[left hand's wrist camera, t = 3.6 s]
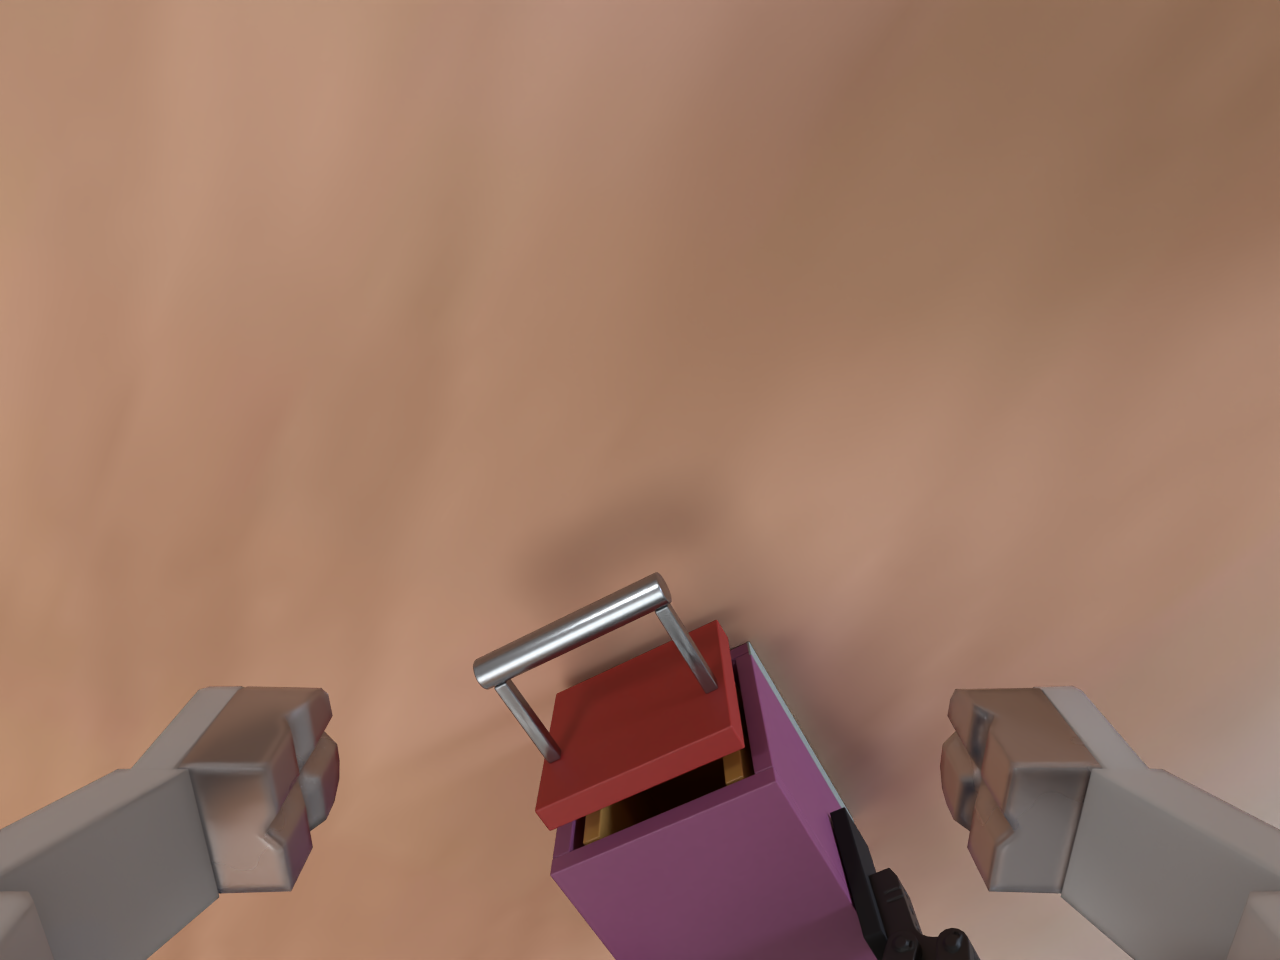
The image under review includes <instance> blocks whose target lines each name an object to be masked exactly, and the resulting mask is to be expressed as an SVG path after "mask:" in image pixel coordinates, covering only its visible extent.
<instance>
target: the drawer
mask: <svg viewBox="0 0 1280 960" xmlns="http://www.w3.org/2000/svg"><path fill="white" fill-rule="evenodd" d="M671 602H672V599H671V594H670V591H669V589H668V586H667V584H666V582H665V581H664V579H663V578H662V576H661V575H660V574H659V573H658V572H656V573H653V574H651V575H649V576H647V577H645V578H643V579H641V580H639V581H637V582H635V583H633V584H631V585H629V586H627V587H625V588H622V589H620V590H618V591H616V592H614V593H612V594H610V595H608V596H606V597H604V598H602V599H600V600H598V601H596V602H594V603H591V604H589V605H587V606H585V607H583V608H581V609H579V610H577V611H575V612H573V613H571V614H569V615H567V616H565V617H563V618H560V619H558V620H556V621H554V622H552V623H550V624H548V625H546V626H544V627H542V628H540V629H538V630H536V631H534V632H532V633H530V634H527V635H525V636H523V637H521V638H519V639H517V640H515V641H513V642H511V643H509V644H507V645H505V646H503V647H501V648H499V649H496V650H494V651H492V652H490V653H488V654H486V655H484V656H482V657H480V658H478V659H476V660H475V661H474V664H473V670H474V674H475V677H476V679H477V681H478V683H479V684H480V685H481V686H482V687H483V688H484V689H490V688H493V687H495V690H496V692H497V693H498V694H499V696H500V697H501V699H502V700H503V701H504V703H505V704H506V705H507V707H508V708H509V709H510V711H511V712H512V714H513V715H514V716H515V718H516V719H517V720H518V722H519V723H520V725H521V726H522V727H523V729H524V730H525V731H526V733H527V734H528V736H529V737H530V738H531V740H532V741H533V742H534V744H535V745H536V746H537V748H538V749H539V751H540V752H541V753H542V755H543V756H544V757H545V760H544V765H543V770H542V776H541V781H540V787H539V792H538V798H537V803H536V809H535V812H536V813H537V815H538V816H539V817H540V819H541V820H542V821H543V823H544V824H545V825H546V827H547V828H548V829H549V830H550V831H551V830H553V829H556V828H558V827H560V826H563V825H565V824H567V823H570V822H572V821H574V820H577V819H579V818H581V817H584V816H586V820H585V830H584V839H583V844H584V845H588V844H590V843H592V842H595V841H597V840H600V839H602V838H604V837H607V836H609V835H611V834H614V833H616V832H619V831H621V830H623V829H626V828H628V827H631V826H633V825H635V824H638V823H640V822H642V821H645V820H647V819H650V818H652V817H654V816H657V815H659V814H661V813H664V812H666V811H669V810H671V809H673V808H676V807H678V806H681V805H683V804H685V803H688V802H690V801H692V800H695V799H697V798H700V797H702V796H704V795H707V794H709V793H711V792H714V791H716V790H719V789H721V788H723V787H726V786H728V785H731V784H733V783H735V782H738V781H740V780H742V779H745V778H747V777H750V776H752V775H754V774H755V773H754V767H753V761H752V755H751V749H750V743H749V737H748V731H747V725H746V719H745V713H744V707H743V701H742V695H741V691H740V689H739V688H738V686H737V684H736V683H735V681H734V675H733V668H732V662H731V655H730V649H729V643H728V637H727V636H726V634H725V632H724V631H723V629H722V627H721V626H720V624H719V622H718V621H717V620H715V621H713V622H710V623H708V624H706V625H704V626H702V627H700V628H698V629H695V630H693V631H691V632H689V633H688V632H687V630H686V628H685V627H684V625H683V624H682V622H681V620H680V619H679V617H678V615H677V614H676V612H675V610H674V609H673V607H672V606H671V604H670V603H671ZM653 611H655V613H656V615H657V616H658V618H659V620H660V621H661V623H662V624H663V626H664V628H665V629H666V631H667V632H668V634H669V636H670V637H671V639H672V641H670V642H667V643H665V644H663V645H661V646H659V647H657V648H654V649H652V650H650V651H648V652H646V653H644V654H642V655H639V656H637V657H635V658H633V659H631V660H629V661H626V662H624V663H622V664H620V665H618V666H616V667H614V668H611V669H609V670H607V671H605V672H603V673H601V674H598V675H596V676H594V677H592V678H590V679H588V680H586V681H583V682H581V683H579V684H577V685H575V686H573V687H570V688H568V689H566V690H564V691H562V692H560V693H557V695H556V700H555V705H554V710H553V716H552V721H551V727H550V732H548V731H547V729H546V728H545V726H544V725H543V724H542V722H541V721H540V719H539V718H538V717H537V715H536V714H535V713H534V711H533V710H532V708H531V707H530V706H529V704H528V703H527V701H526V700H525V699H524V697H523V696H522V694H521V693H520V692H519V690H518V689H517V687H516V686H515V685H514V683H513V682H512V680H511V679H512V678H514V677H516V676H518V675H520V674H522V673H524V672H526V671H528V670H531V669H533V668H535V667H537V666H539V665H541V664H543V663H545V662H547V661H550V660H552V659H554V658H556V657H558V656H560V655H562V654H564V653H566V652H569V651H571V650H573V649H575V648H577V647H579V646H581V645H583V644H585V643H588V642H590V641H592V640H594V639H596V638H598V637H600V636H602V635H604V634H607V633H609V632H611V631H613V630H615V629H617V628H619V627H621V626H623V625H626V624H628V623H630V622H632V621H634V620H636V619H638V618H640V617H642V616H644V615H647V614H649V613H651V612H653Z"/></svg>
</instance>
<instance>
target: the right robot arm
mask: <svg viewBox="0 0 1280 960" xmlns="http://www.w3.org/2000/svg"><path fill="white" fill-rule="evenodd" d="M830 816H831V820H832V823H833V827H834V831H835V834H836V838H837V842H838V845H839V849H840V853H841V856H842V860H843V864H844V867H845V871H846V875H847V878H848V882H849V886H850V889H851V893H852V897H853V900H854V904H855V908H856V911H857V915H858V919H859V922H860V926H861V930H862V933H863V937H864V939H865V941H866V942H867V944H868V946H869V947H870V949H871V950H872V952H873V954H874V955H875V957H876V958H877V960H980V958H979V957H978V955H977V953H976V951H975V949H974V948H973V946H972V944H971V942H970V940H969V939H968V937H967V936H966V934H965V933H964V932H963V931H961V930H959V929H956V928H950V929H946V930H944V931H943V932H941V933H940V935H939V936H938V937H927V936H925V935H923V934H922V931H921V929H920V926H919V923H918V920H917V918H916V914H915V911H914V909H913V906H912V903H911V900H910V897H909V896H908V894H907V892H906V891H905V889H904V887H903V885H902V884H901V882H900V880H899V878H898V877H897V875H896V874H895V873H894V872H893V871H892V870H891V869H890V868H887V869H885V870H882V871H880V872H877V873H876V871H875V867H874V864H873V861H872V858H871V855H870V852H869V848H868V846H867V844H866V842H865V841H864V839H863V837H862V836H861V834H860V832H859V830H858V829H857V827H856V825H855V824H854V822H853V820H852V819H851V817H850V815H849V813H848V812H847V810H846V808H845V807H843V808H841V809H838V810H836V811H833V812H831V813H830Z"/></svg>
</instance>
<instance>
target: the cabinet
mask: <svg viewBox="0 0 1280 960" xmlns="http://www.w3.org/2000/svg"><path fill="white" fill-rule="evenodd" d="M730 655H731V662H732V668H733V675H734V681H735V683H736V684H737V686H738V688H739V689H740V691H741V695H742V701H743V707H744V713H745V719H746V725H747V731H748V737H749V743H750V749H751V755H752V761H753V767H754V773H755V774H754V775H752V776H750V777H747V778H745V779H742V780H740V781H738V782H735V783H733V784H731V785H728V786H726V787H723V788H721V789H719V790H716V791H714V792H711V793H709V794H707V795H704V796H702V797H700V798H697V799H695V800H692V801H690V802H688V803H685V804H683V805H681V806H678V807H676V808H673V809H671V810H669V811H666V812H664V813H661V814H659V815H657V816H654V817H652V818H650V819H647V820H645V821H642V822H640V823H638V824H635V825H633V826H631V827H628V828H626V829H623V830H621V831H619V832H616V833H614V834H611V835H609V836H607V837H604V838H602V839H600V840H597V841H595V842H592V843H590V844H588V845H584V844H583V839H584V830H585V820H586V816H584V817H581V818H579V819H577V820H574V821H572V822H570V823H567V824H565V825H563V826H560V827H558V828H557V833H556V840H555V847H554V853H553V860H552V866H551V873H550V875H551V877H552V878H553V879H554V881H555V882H556V883H557V884H558V886H559V887H560V888H561V890H562V891H563V892H564V894H565V895H566V896H567V897H568V899H569V900H570V901H571V903H572V904H573V905H574V906H575V908H576V909H577V910H578V912H579V913H580V914H581V915H582V917H583V918H584V919H585V921H586V922H587V923H588V924H589V926H590V927H591V928H592V930H593V931H594V932H595V933H596V935H597V936H598V937H599V939H600V940H601V941H602V942H603V944H604V945H605V946H606V948H607V949H608V950H609V951H610V953H611V954H612V955H613V957H614V958H615V959H616V960H877V958H876V957H875V955H874V954H873V952H872V950H871V949H870V947H869V946H868V944H867V942H866V941H865V939H864V937H863V933H862V930H861V926H860V922H859V919H858V915H857V911H856V908H855V904H854V900H853V897H852V893H851V889H850V886H849V882H848V878H847V875H846V871H845V867H844V864H843V860H842V856H841V853H840V849H839V845H838V842H837V838H836V834H835V831H834V827H833V823H832V820H831V816H830V813H831V812H833V811H836V810H838V809H841V808H843V807H845V805H844V803H843V801H842V800H841V798H840V796H839V795H838V793H837V791H836V790H835V788H834V786H833V784H832V783H831V781H830V779H829V778H828V776H827V774H826V772H825V771H824V769H823V767H822V766H821V764H820V762H819V760H818V759H817V757H816V755H815V754H814V752H813V750H812V748H811V747H810V745H809V743H808V742H807V740H806V738H805V737H804V735H803V733H802V731H801V730H800V728H799V726H798V725H797V723H796V721H795V719H794V718H793V716H792V714H791V713H790V711H789V709H788V707H787V706H786V704H785V702H784V701H783V699H782V697H781V695H780V694H779V692H778V690H777V689H776V687H775V685H774V684H773V682H772V680H771V678H770V677H769V675H768V673H767V672H766V670H765V668H764V666H763V665H762V663H761V661H760V660H759V658H758V656H757V654H756V653H755V651H754V649H753V648H752V646H751V644H750V642H749V641H748V642H747V643H745V644H743V645H741V646H739V647H737V648H734V649H732V650H730ZM845 808H846V807H845ZM846 810H847V808H846ZM847 812H848V810H847ZM848 813H849V812H848ZM849 815H850V813H849ZM850 817H851V815H850ZM851 819H852V817H851ZM852 820H853V819H852ZM853 822H854V821H853Z"/></svg>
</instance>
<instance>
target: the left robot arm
mask: <svg viewBox="0 0 1280 960" xmlns="http://www.w3.org/2000/svg"><path fill="white" fill-rule="evenodd" d="M331 718H332V711H331V706H330V701H329V696H328V694H327V693H326V692H325V691H324V690H323V689H322V688H294V687H242V686H209V687H206V688H203V689H200V690H198V691H197V692H196V694H195V695H194V696H193V697H192V698H191V699H190V700H189V702H188V703H187V704H186V705H185V706H184V707H183V709H182V710H181V711H180V712H179V713H178V714H177V716H176V717H175V718H174V719H173V720H172V721H171V723H170V724H169V725H168V726H167V727H166V728H165V730H164V731H163V732H162V733H161V734H160V735H159V737H158V738H157V739H156V740H155V741H154V742H153V744H152V745H151V746H150V747H149V748H148V749H147V751H146V752H145V753H144V754H143V755H142V756H141V757H140V759H139V760H138V761H137V762H136V763H135V764H134V766H133V767H132V768H131V769H117V770H115V771H113V772H111V773H109V774H107V775H105V776H103V777H102V778H100V779H98V780H96V781H94V782H92V783H90V784H88V785H86V786H84V787H82V788H80V789H78V790H76V791H74V792H72V793H71V794H69V795H67V796H65V797H63V798H61V799H59V800H57V801H55V802H53V803H51V804H49V805H47V806H45V807H43V808H41V809H39V810H38V811H36V812H34V813H32V814H30V815H28V816H26V817H24V818H22V819H20V820H18V821H16V822H14V823H12V824H10V825H8V826H6V827H5V828H3V829H1V830H0V960H146V959H147V958H149V957H150V956H151V955H152V954H153V953H154V952H156V951H157V950H158V949H159V948H160V947H161V946H163V945H164V944H165V943H166V942H167V941H168V940H170V939H171V938H172V937H173V936H174V935H175V934H177V933H178V932H179V931H180V930H181V929H182V928H184V927H185V926H186V925H187V924H188V923H190V922H191V921H192V920H193V919H194V918H195V917H197V916H198V915H199V914H200V913H201V912H202V911H204V910H205V909H206V908H207V907H208V906H209V905H211V904H212V903H213V902H214V901H215V900H216V899H218V898H219V894H218V893H247V892H281V891H292V888H293V886H294V884H295V882H296V880H297V878H298V876H299V874H300V872H301V870H302V868H303V866H304V864H305V862H306V860H307V858H308V856H309V854H310V852H311V850H312V848H313V846H312V840H311V835H310V831H311V830H312V829H314V828H315V827H317V826H318V825H319V824H321V823H322V822H323V821H325V820H326V819H327V817H328V814H329V812H330V810H331V808H332V806H333V803H334V801H335V796H336V791H337V787H338V782H339V754H338V747H337V744H336V743H335V742H334V741H333V740H332V739H331V738H330V737H329V736H328V735H327V734H326V733H325V732H324V730H325V728H326V727H327V725H328V723H329V721H330V719H331ZM948 718H949V719H950V721H951V723H952V725H953V727H954V728H955V730H956V732H955V733H954V734H953V735H952V736H951V737H950V738H949V739H948V740H947V741H946V742H945V743H944V744H943V747H942V755H941V763H940V770H941V781H942V789H943V793H944V796H945V800H946V803H947V806H948V808H949V810H950V812H951V814H952V817H953V819H954V820H955V821H957V822H958V823H959V824H961V825H962V826H963V827H965V828H966V829H968V830H969V831H970V835H969V840H968V846H967V848H968V850H969V852H970V854H971V856H972V858H973V860H974V862H975V864H976V866H977V868H978V870H979V872H980V874H981V876H982V878H983V880H984V882H985V884H986V886H987V888H988V890H989V891H997V892H1032V893H1061V897H1062V898H1063V899H1064V900H1065V901H1066V902H1067V903H1069V904H1070V905H1071V906H1072V907H1073V908H1074V909H1076V910H1077V911H1078V912H1079V913H1080V914H1081V915H1083V916H1084V917H1085V918H1086V919H1087V920H1088V921H1090V922H1091V923H1092V924H1093V925H1094V926H1095V927H1097V928H1098V929H1099V930H1100V931H1101V932H1102V933H1104V934H1105V935H1106V936H1107V937H1108V938H1110V939H1111V940H1112V941H1113V942H1114V943H1115V944H1117V945H1118V946H1119V947H1120V948H1121V949H1122V950H1124V951H1125V952H1126V953H1127V954H1128V955H1129V956H1131V957H1132V958H1133V959H1134V960H1280V830H1279V829H1277V828H1275V827H1273V826H1271V825H1269V824H1267V823H1265V822H1264V821H1262V820H1260V819H1258V818H1256V817H1254V816H1252V815H1250V814H1248V813H1246V812H1244V811H1242V810H1240V809H1238V808H1236V807H1235V806H1233V805H1231V804H1229V803H1227V802H1225V801H1223V800H1221V799H1219V798H1217V797H1215V796H1213V795H1211V794H1209V793H1207V792H1205V791H1204V790H1202V789H1200V788H1198V787H1196V786H1194V785H1192V784H1190V783H1188V782H1186V781H1184V780H1182V779H1180V778H1178V777H1176V776H1175V775H1173V774H1171V773H1169V772H1167V771H1165V770H1163V769H1149V768H1148V767H1147V766H1146V764H1145V763H1144V762H1143V761H1142V760H1141V759H1140V758H1139V756H1138V755H1137V754H1136V753H1135V752H1134V751H1133V749H1132V748H1131V747H1130V746H1129V745H1128V744H1127V742H1126V741H1125V740H1124V739H1123V738H1122V737H1121V735H1120V734H1119V733H1118V732H1117V731H1116V730H1115V728H1114V727H1113V726H1112V725H1111V724H1110V723H1109V722H1108V720H1107V719H1106V718H1105V717H1104V716H1103V715H1102V713H1101V712H1100V711H1099V710H1098V709H1097V708H1096V706H1095V705H1094V704H1093V703H1092V702H1091V701H1090V699H1089V698H1088V697H1087V696H1086V695H1085V694H1084V692H1083V691H1081V690H1080V689H1078V688H1076V687H1074V686H1051V687H1033V688H997V689H955V691H954V693H953V695H952V697H951V699H950V704H949V710H948Z"/></svg>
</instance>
